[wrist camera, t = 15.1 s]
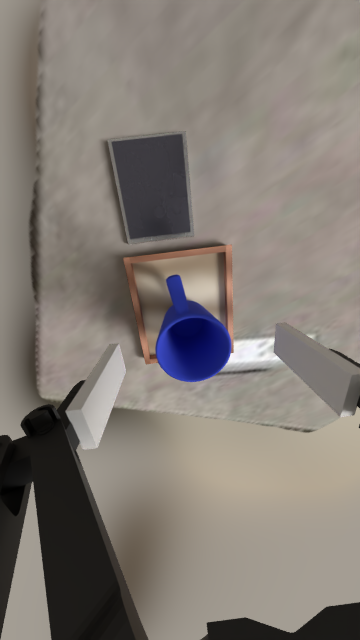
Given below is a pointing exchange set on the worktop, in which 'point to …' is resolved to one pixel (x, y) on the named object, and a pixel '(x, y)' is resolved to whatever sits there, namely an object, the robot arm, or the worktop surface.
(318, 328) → the worktop surface
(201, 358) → the mug
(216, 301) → the sand box
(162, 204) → the ink pad
